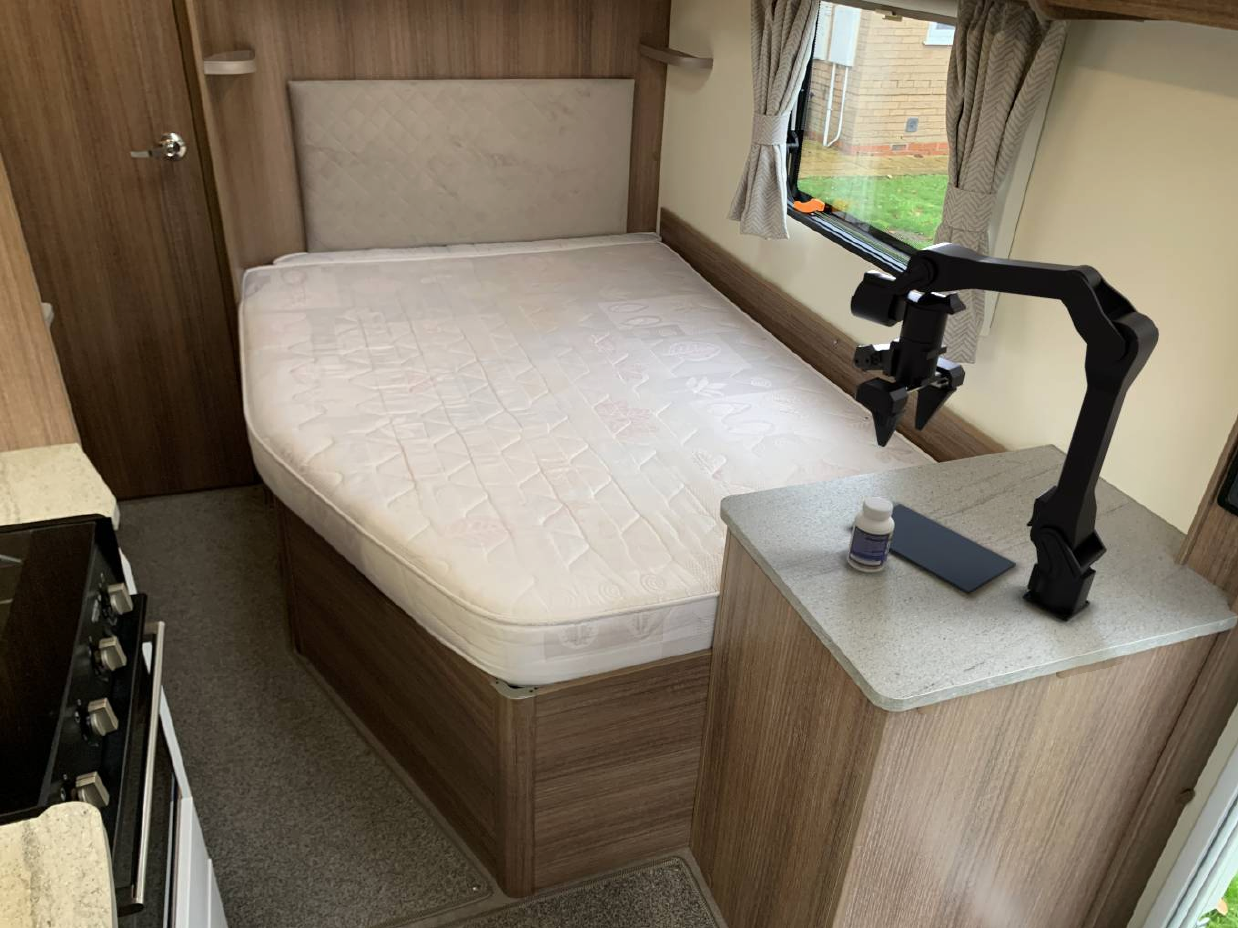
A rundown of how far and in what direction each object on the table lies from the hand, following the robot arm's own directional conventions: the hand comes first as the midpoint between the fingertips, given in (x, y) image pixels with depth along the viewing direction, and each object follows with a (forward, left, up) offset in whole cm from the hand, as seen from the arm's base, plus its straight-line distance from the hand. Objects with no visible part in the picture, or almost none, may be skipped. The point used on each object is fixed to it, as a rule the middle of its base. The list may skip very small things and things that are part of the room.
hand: (900, 437), depth 138 cm
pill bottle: (-6, +12, -14) cm, 19 cm away
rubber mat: (-9, 0, -14) cm, 17 cm away
